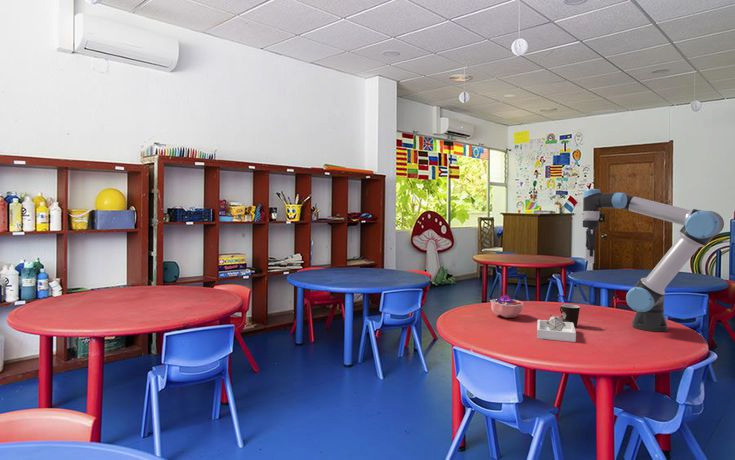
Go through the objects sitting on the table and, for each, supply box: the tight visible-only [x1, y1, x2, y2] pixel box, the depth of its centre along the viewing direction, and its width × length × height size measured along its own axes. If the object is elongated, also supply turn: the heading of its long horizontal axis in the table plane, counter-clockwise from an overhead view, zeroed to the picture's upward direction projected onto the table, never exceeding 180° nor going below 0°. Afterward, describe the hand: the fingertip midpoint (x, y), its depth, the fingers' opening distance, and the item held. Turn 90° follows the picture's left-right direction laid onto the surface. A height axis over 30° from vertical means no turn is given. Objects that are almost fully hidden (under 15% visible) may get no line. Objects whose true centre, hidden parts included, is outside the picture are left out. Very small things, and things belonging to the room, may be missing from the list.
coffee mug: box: [559, 303, 581, 329], centre depth 244 cm, size 12×9×10 cm
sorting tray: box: [536, 319, 577, 343], centre depth 226 cm, size 16×21×4 cm
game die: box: [546, 314, 566, 331], centre depth 226 cm, size 9×8×10 cm
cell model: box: [489, 294, 524, 319], centre depth 262 cm, size 17×20×11 cm
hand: (589, 261), depth 247 cm, fingers open, 13 cm apart
